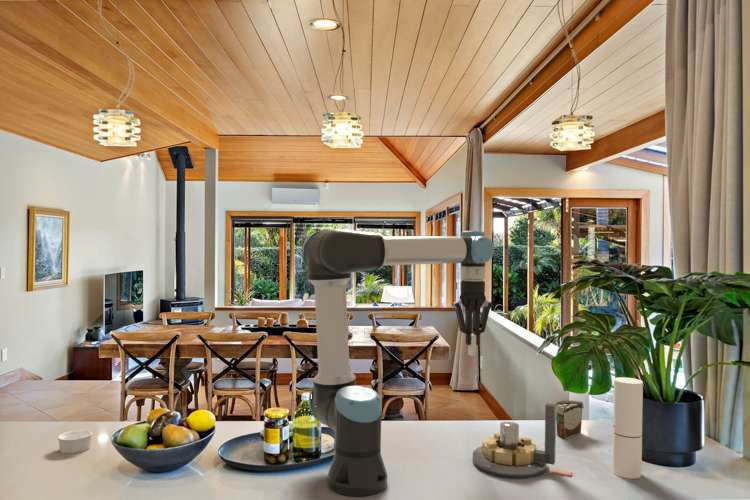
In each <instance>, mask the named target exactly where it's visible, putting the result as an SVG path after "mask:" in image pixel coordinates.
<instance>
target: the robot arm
mask: <svg viewBox="0 0 750 500" xmlns="http://www.w3.org/2000/svg"><path fill="white" fill-rule="evenodd" d="M300 253H301V255H300V256H301V260H302V261H303V264H304V265H305V266H306V268H307V277H308V282H310V284H311V285H313V288H314V305H315V324H316V325H315V327H316V344H317V345H316V347H317V349H316V350H317V366H318V367H317V368H318V371H317V374H315V376H314V377H313V383H312V384H313V388H312V389H311V390H310V392H309V395H308V406H309V409H310V412H311V414H312V415H313V416H314V417H315V419H316V420H317V421H319V422H320V423H321V424H323V425H324V426H327V427H328V428H329V429H330V430H332V431H333V432H334V446H335V447H334V454H333V458H332V461H331V464H330V467H329V469H328V474H327V487H328V488H329V489H330V490H331V491H333V492H335V493H337V494H340V495H343V496H349V497H350V496H351V497H364V496H371V495H374V494H377V493H380V492H383V490H385V489H386V488H387V486H388V473H387V469H386V466H385V462H384V460H383V457H382V450H381V449H382V413H383V408H382V406H383V405H382V398H381V396H380V394H379V393H378V392H377V391H375V390H374V389H372V388H370V387H364V386H362V385H356V384H357V381H356V380H357V379H356V377H357V376H356V374H354V373H353V372H352V371H351V370H350V368H351V367H350V353H349V351H350V349H349V347H350V346H349V330H348V329H349V328H348V325H349V324H348V308H347V305H348V303H347V302H348V301H347V286H346V285H347V283H349V281H350V279H352V273H357V272H364V271H365V272H366V271H376V270H381V269H382V268H383V266H406V265H407V266H408V265H410V266H411V265H436V264H460V279H462V280H460V295H459V298H458V300H456V301H453V302H452V307H453V308H454V310H455V314H456V319H457V325H458V328H459V331H460V333H464V335H465V344H466V345H467V355H468V356H470V357H476V356H477V346H478V345H479V343H480V341H479V340H480V339H479V338H480V335H481V334H482V333H485V330H486V327H487V323H488V317H489V314H490V309H491V308H492V307H493V305H494V304H493V302H491V301H489V300H488V299H487V298H486V297H487V296H486V295H485V294H486V282H485V279H486V263H488V262H489V261H490V260H492V258H493V256H494V254H495V246H494V243H493V241H492V240H491V239H490V238H489V237H487V236H486V233H485V232H484V231H482V230H462V231H461V235H460V236H458V235H457V236H456V235H454V236H452V235H451V236H450V235H449V236H448V235H447V236H445V235H444V236H442V235H440V236H435V235H434V236H433V235H432V236H431V235H430V236H417V235H416V236H383V235H382V234H381V233H380V232H369V231H367V232H366V231H359V230H352V229H345V228H338V229H335V228H333V229H326V228H325V229H320V230H318V231H314V232H313V233H311V234H309V235H308V236H307V237H306V238H305V240H304V241H303V244H302V247H301V252H300ZM462 307H464V312H465V314H464V313H463V309H462ZM481 308H482V310H481ZM464 317H465V318H464ZM311 394H312V399H311ZM315 406H316V407H315Z"/></svg>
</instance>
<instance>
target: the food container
mask: <svg viewBox="0 0 750 500" xmlns="http://www.w3.org/2000/svg"><path fill="white" fill-rule="evenodd" d="M554 404H556V436H557V437H559V438H560V439H563V440H568V439H569V438H572V437H575V436H577V435H580V434H581V433H582V423H583V422H582V420H583V410H584V403H583V401H578V400H567V399H565V400H563V399H562V400H558V401H555V403H554Z"/></svg>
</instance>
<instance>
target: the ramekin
mask: <svg viewBox="0 0 750 500" xmlns="http://www.w3.org/2000/svg"><path fill="white" fill-rule="evenodd" d="M92 436H93V431H91V430H88V429H76V430H70V431H67V432H63V433H61V434H60V435H58V437H57V439H58V445H59V451H60V452H61V453H62V454H67V455H68V454H70V455H71V454H78V453H81V452H85V451H87V450H89V449H90V448H91V446H92Z"/></svg>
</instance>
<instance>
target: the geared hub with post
mask: <svg viewBox="0 0 750 500" xmlns="http://www.w3.org/2000/svg"><path fill="white" fill-rule="evenodd" d="M544 406H545V413H544V417H545V418H544V450H539V449H537V445H536V444H535V443H534V442H532V441H533V440H532V439H531V438H530V437H519V446H517V447H516V448H515V450H508V449H502V448H500V432H497V433H495V432H494V433H493V436H489V437H486V438H485V439H484V440H483V442H482V445H481V446H482V454H483V456H485V457H486V458H487V459H489V460H490V461H495V463H500V464H506V465H513V464H514V465H516V466H518V465H525V464H531V462H532V463H533V462H534V461H535V462H541V463H547V465H553V466H554V465H555V464H556V438H557V437H556V436H557V427H556V404H555V403H548V402H547V403H546V404H545V405H544Z"/></svg>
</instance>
